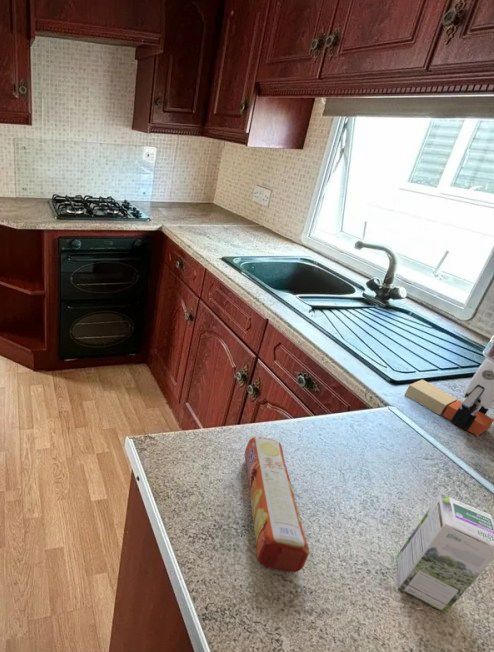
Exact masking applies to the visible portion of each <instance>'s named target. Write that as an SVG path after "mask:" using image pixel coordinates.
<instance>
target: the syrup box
mask: <svg viewBox="0 0 494 652" xmlns="http://www.w3.org/2000/svg"><path fill="white" fill-rule="evenodd" d="M396 559H397V560H396V563H397V581H398V582H397V583H398V589H399V590H400V591H402V592H403V593H406V594H408V595H410V596H412V597H414V598H416V599H417V600H419V601H421V602H423V603H425V604H427V605H428V606H431V607H433V608H435V609H437V610H438V611H440V612H441V613H444V614H446V613H447V612H448V611H449V610H450V609H451V608H452V607H453V606H454V605H455V603H456V602H457V601H458V600H459V599H460V598H461V596H463V594H464V593H465V592H466V591H467V590H468V589H469V588H470V586H472V584H473V583H474V582H475V581H476V580H477V578H478V577H479V576H481V574H482V573H483V572H484V571H485V570H486V568H488V566H489V565H490V564H491V563H492V562H493V561H494V519H493V517H492V515H491V514H490V513H487V512H485V511H483V510H481V509H478V508H475V507H473V506H471V505H469V504H466V503H463V501H459V500H456V499H454V498H451V497H450V496H447V495H445V494H443V493H439V494H438V495H437V497H436V498H435V499H434V501H433V502H432V504H431V505H430V506H429V508H428V510H427V511H426V513H425V514H424V516H422V518H421V520H420V521H419V523H418V524H417V526H416V527H415V528H414V530H413V531H412V533H411V535H410V536H409V537H408V539H407V541H406V542H405V543H404V544H403V546H402V547H401V549H400V550H399V552H398V553H397V554H396Z"/></svg>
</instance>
